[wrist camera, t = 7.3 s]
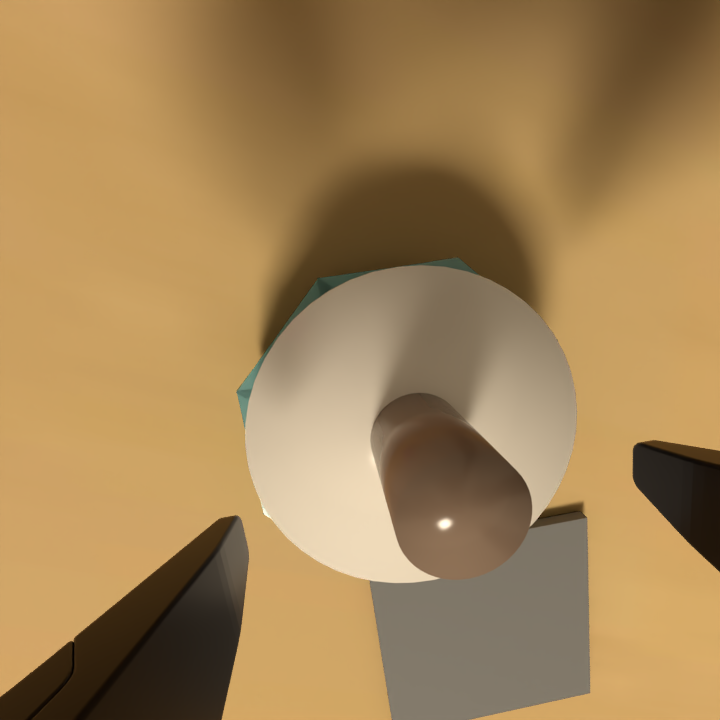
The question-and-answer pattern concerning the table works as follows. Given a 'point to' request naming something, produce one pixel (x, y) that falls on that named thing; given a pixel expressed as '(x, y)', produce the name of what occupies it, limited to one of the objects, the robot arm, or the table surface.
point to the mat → (491, 631)
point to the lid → (411, 425)
